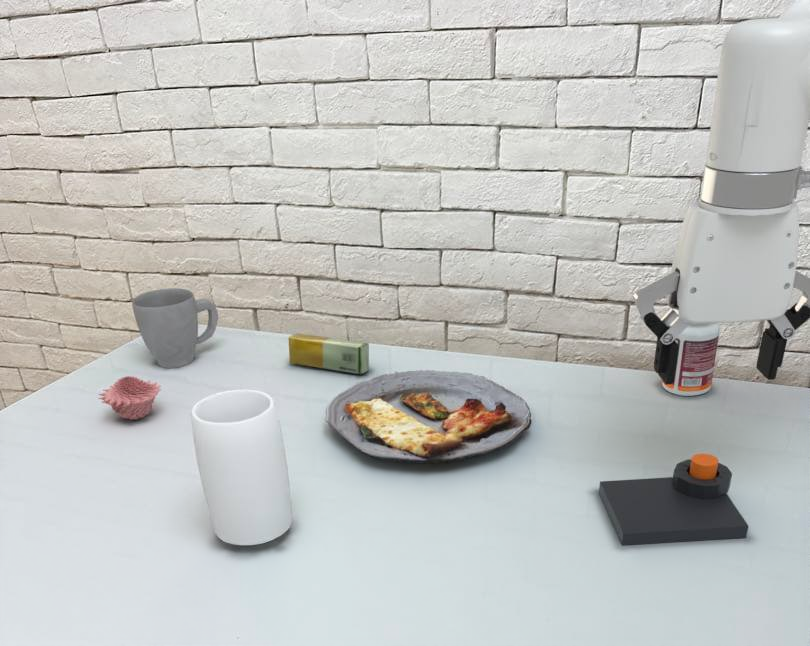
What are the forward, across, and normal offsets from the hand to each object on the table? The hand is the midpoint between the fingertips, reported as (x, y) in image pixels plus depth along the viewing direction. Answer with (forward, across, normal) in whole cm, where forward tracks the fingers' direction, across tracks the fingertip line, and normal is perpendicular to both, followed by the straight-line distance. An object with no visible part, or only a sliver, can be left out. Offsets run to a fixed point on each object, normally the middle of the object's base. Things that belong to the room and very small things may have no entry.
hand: (715, 376), depth 82 cm
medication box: (+14, +40, -40) cm, 58 cm away
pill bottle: (+13, -7, -26) cm, 30 cm away
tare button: (+10, 0, +1) cm, 10 cm away
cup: (+14, +46, +3) cm, 48 cm away
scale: (+13, +4, +4) cm, 14 cm away
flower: (+14, +65, -27) cm, 72 cm away
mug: (+14, +62, -47) cm, 79 cm away
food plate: (+14, +27, -19) cm, 36 cm away
